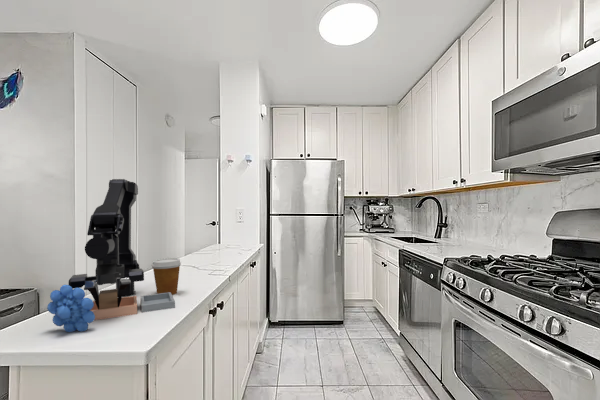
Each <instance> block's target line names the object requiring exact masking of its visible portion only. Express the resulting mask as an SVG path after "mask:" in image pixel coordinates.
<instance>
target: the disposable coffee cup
mask: <svg viewBox="0 0 600 400" xmlns="http://www.w3.org/2000/svg"><path fill="white" fill-rule="evenodd" d="M181 264H182V261H181V260H180V258H177V257H176V258H175V257H174V258H171V257H170V258H169V257H167V258H162V259H161V258H159V259H155V260H153V261H152V264H151V268H152V269H153V277H154V281H155V288H156V289H155V290H156V294H160V293H168V292H171V294H172V296H173V295H177V294H178V286H179V285H178V284H179V277H180V267H181Z"/></svg>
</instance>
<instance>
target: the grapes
mask: <svg viewBox="0 0 600 400" xmlns="http://www.w3.org/2000/svg"><path fill="white" fill-rule="evenodd" d="M49 298H50V300H51V301H50V302H49V303H48V304H47V307H46V308H47V311H48V313H49V314H52V315H53V316H52V323H53V325H55V326H57V327H63V330H64V331H65V333H72V332H76V331H78V332H80V333H81V332H85V331H87V330H88V328H89V324H90V323H93V322H94V321H95V320H94V319H95V315H94V313H93V312H92V311H90V310H91V309H92V308H93V306H94V303H93V301H94V300H93V299H91V298H90V297H86V292H85V290H84V288H73V289H72V287H71V286H69V284H63V285H61V286H60V288H59V290H58V289H55V290H52V292H51V293H50V295H49Z"/></svg>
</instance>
